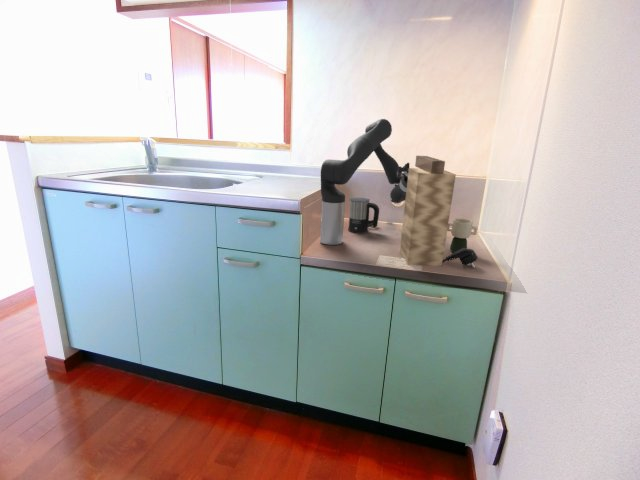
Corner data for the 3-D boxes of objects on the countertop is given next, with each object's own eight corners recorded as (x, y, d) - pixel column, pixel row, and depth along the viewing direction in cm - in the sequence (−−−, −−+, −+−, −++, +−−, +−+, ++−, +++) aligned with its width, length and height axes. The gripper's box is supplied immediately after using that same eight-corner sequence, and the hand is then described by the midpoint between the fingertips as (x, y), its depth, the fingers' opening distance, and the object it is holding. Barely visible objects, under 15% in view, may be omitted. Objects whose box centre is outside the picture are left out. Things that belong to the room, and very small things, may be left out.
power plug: (438, 258, 127) (469, 242, 123) (448, 275, 128) (479, 260, 124) (439, 263, 121) (472, 247, 117) (450, 281, 123) (483, 266, 119)
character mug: (473, 251, 137) (478, 220, 133) (472, 257, 131) (478, 224, 127) (444, 247, 142) (449, 216, 138) (442, 252, 136) (447, 220, 132)
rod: (430, 173, 112) (432, 160, 111) (415, 166, 134) (416, 155, 133) (443, 174, 112) (445, 161, 111) (425, 166, 134) (426, 155, 132)
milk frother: (347, 232, 157) (349, 200, 152) (346, 223, 172) (348, 194, 167) (379, 234, 157) (382, 202, 152) (375, 225, 172) (378, 195, 167)
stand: (407, 264, 122) (418, 173, 112) (399, 250, 136) (408, 168, 126) (441, 266, 122) (455, 174, 112) (430, 251, 136) (442, 169, 126)
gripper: (393, 172, 152) (401, 155, 136) (425, 173, 151) (437, 157, 135) (393, 188, 150) (401, 173, 134) (426, 189, 150) (438, 174, 134)
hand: (419, 165), depth 135 cm, fingers open, 8 cm apart
